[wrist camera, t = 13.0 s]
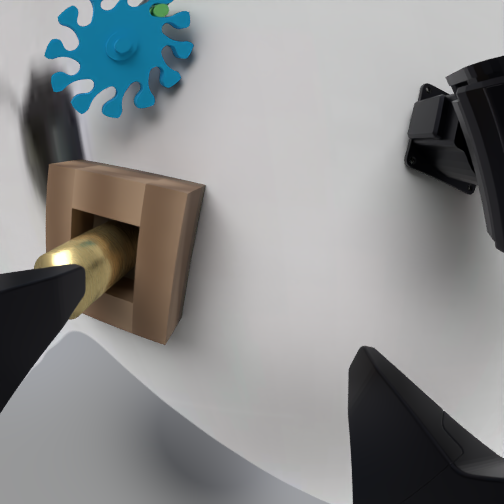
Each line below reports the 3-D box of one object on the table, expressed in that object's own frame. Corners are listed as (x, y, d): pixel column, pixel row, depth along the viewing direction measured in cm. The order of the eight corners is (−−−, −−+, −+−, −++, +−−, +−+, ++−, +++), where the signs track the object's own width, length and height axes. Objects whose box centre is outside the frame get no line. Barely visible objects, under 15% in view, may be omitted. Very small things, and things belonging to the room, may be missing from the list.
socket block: (205, 185, 20) (187, 193, 17) (181, 317, 24) (165, 344, 20) (81, 159, 21) (49, 164, 17) (75, 279, 24) (49, 297, 21)
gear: (137, 144, 18) (13, 82, 11) (121, 126, 22) (25, 77, 14) (234, 21, 16) (130, -60, 8) (199, 25, 20) (114, -36, 12)
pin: (147, 224, 21) (83, 265, 13) (142, 274, 22) (85, 329, 15) (102, 212, 21) (31, 245, 13) (100, 260, 22) (37, 305, 15)
